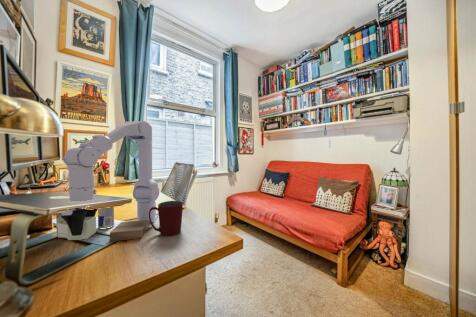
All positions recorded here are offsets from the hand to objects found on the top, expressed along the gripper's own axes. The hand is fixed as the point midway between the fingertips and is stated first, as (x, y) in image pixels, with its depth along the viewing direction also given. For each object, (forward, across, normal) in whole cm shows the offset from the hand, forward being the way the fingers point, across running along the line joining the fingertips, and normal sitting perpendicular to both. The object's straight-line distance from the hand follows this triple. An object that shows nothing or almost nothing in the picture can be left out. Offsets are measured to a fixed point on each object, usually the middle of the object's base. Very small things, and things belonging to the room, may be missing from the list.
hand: (82, 231), depth 58 cm
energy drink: (+7, -20, -2) cm, 21 cm away
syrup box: (+7, -14, -11) cm, 19 cm away
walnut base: (+6, -11, +10) cm, 16 cm away
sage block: (+2, 0, 0) cm, 2 cm away
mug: (+7, -9, +23) cm, 26 cm away
